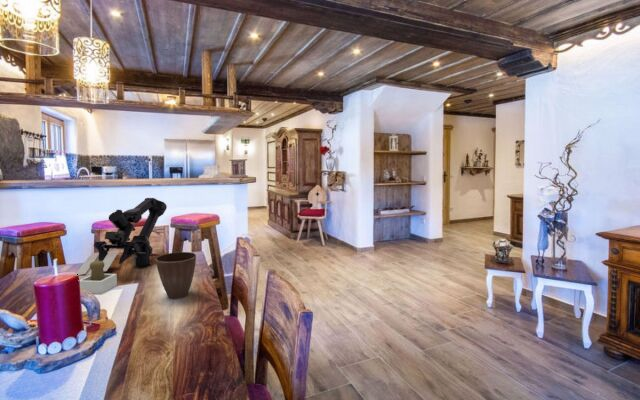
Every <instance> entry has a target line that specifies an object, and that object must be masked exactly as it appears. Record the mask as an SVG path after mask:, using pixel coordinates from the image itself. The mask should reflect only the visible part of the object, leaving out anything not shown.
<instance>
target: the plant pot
mask: <svg viewBox="0 0 640 400" xmlns="http://www.w3.org/2000/svg"><path fill="white" fill-rule="evenodd" d="M196 260H197V254H196V253H194V252H188V251H178V252H176V251H175V252H170V253H164V254H160V255H159V256H157V257H156V258H155V264H156V268H157V273H158V276H159V278H160V281H161V284H162V287H163V290H164V292H165V293H166V295H167V297H168V298H169V299H172V300H176V299H177V300H179V299H182V298H185V297H187V296H188V295H189V292H190V291H191V290H190V289H191V286H192V283H193V278H194V275H195V271H196V270H195V269H196V263H197V261H196Z"/></svg>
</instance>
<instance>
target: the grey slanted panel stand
mask: <svg viewBox="0 0 640 400" xmlns="http://www.w3.org/2000/svg"><path fill="white" fill-rule="evenodd" d="M120 250H121V249H113V250H109V251H108V254H107V256H106V257H105V258H104V260H103V262H104V268H103V270H104V272H107V271H108V269H109V268H110V267H111V265H112V264H113V262H114V260H115V259H116V257H117V255H118V254H119V253H120ZM94 261H99V251H97V252H91V254H90V255H89V256H88V257H87V258H86V260H85V261H84V262H83V264H82V265H81V266H80V267H79V268H78V270H77V271H76V272H75V274H78V275H77V276H79V275H85V276H90V275H91V271H92V270H91V269H90V264H91V263H92V262H94Z"/></svg>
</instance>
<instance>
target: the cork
mask: <svg viewBox="0 0 640 400" xmlns="http://www.w3.org/2000/svg"><path fill="white" fill-rule="evenodd" d="M103 268H104V262H103V261H94V262H92V263H91V264H90V269H91V270H92V271H91V281H101V280H103V279H105V275H104V274H105V271H104V270H103Z"/></svg>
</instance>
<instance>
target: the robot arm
mask: <svg viewBox="0 0 640 400" xmlns="http://www.w3.org/2000/svg"><path fill="white" fill-rule="evenodd" d="M167 207H168V206H167V204H166V203H165V202H164V201H161V200H159V199H157V198H155V197H146V198H144V199H143V201H142V202H140V203H139V204H137V205H136V206H135V207H133V208H131V209H130V208H129V209H126V210H125V211H123V210H122V209H116V210H115V211H113V212H112V213H111V214H109V215H108V220H109V222H111V224H112V225H113V226H114V227H115V228H116V229H117V231H106V232H105V234H104V240H98V241H95V242H94V244H93V247H94V248H95V249H96V250H97V252H99V261H103V260H104V258H105V257H106V256H107V254H108V252H109V251H110V250H112V249H113V250H123V252H122V254H121V256H120V259H119V261H118V264H119V265H122V264H123V263H124V262H125V261H126V260H127V259H129V258H130V257H131V256H134V257H133V266H134V267H135V268H138V269H140V268H146V267H150V266H152V264H151V260H150V255H152V253H153V249H154V248H152V246H151V242H150V237H151V235H152V233H153V230H154V228H155V226H156V223H157V222H158V219H159V218H160V217H161V216H163V215H164V214H165V212H166V211H167ZM147 211H148V216H147V217H146V220H145V222H144V224H143V226H142V227H141V230H140V232H139V234H138V235H133V237H132V239H131V238H130V236H131V235H132V232H135V231H136V228H135V225H133V224H138V223H139V222H140V221H141V220H142V219H143V217H142V216H143V215H144V214H145V213H146V212H147ZM105 240H108V242H109V243H110V244H109V243H107V242H106V241H105Z"/></svg>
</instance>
